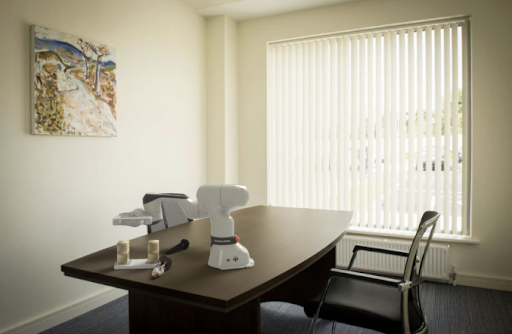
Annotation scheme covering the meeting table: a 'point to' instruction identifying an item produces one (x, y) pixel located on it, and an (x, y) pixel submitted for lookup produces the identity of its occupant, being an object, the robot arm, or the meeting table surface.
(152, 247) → the standing pillar
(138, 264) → the white base board
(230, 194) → the robot arm
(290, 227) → the meeting table surface
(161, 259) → the figurine
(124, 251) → the loose pillar
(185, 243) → the microphone
